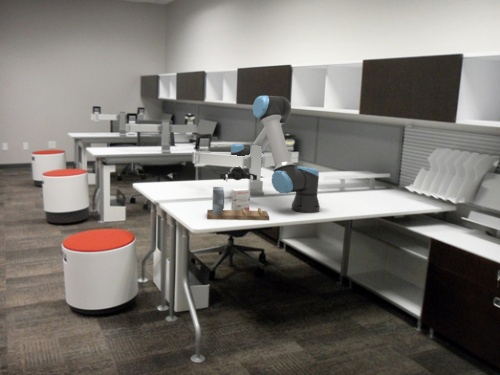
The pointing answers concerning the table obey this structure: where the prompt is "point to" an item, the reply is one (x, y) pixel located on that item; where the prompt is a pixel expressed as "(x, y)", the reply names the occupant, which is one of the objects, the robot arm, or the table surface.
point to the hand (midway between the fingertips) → (239, 179)
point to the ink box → (240, 199)
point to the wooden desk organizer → (242, 214)
